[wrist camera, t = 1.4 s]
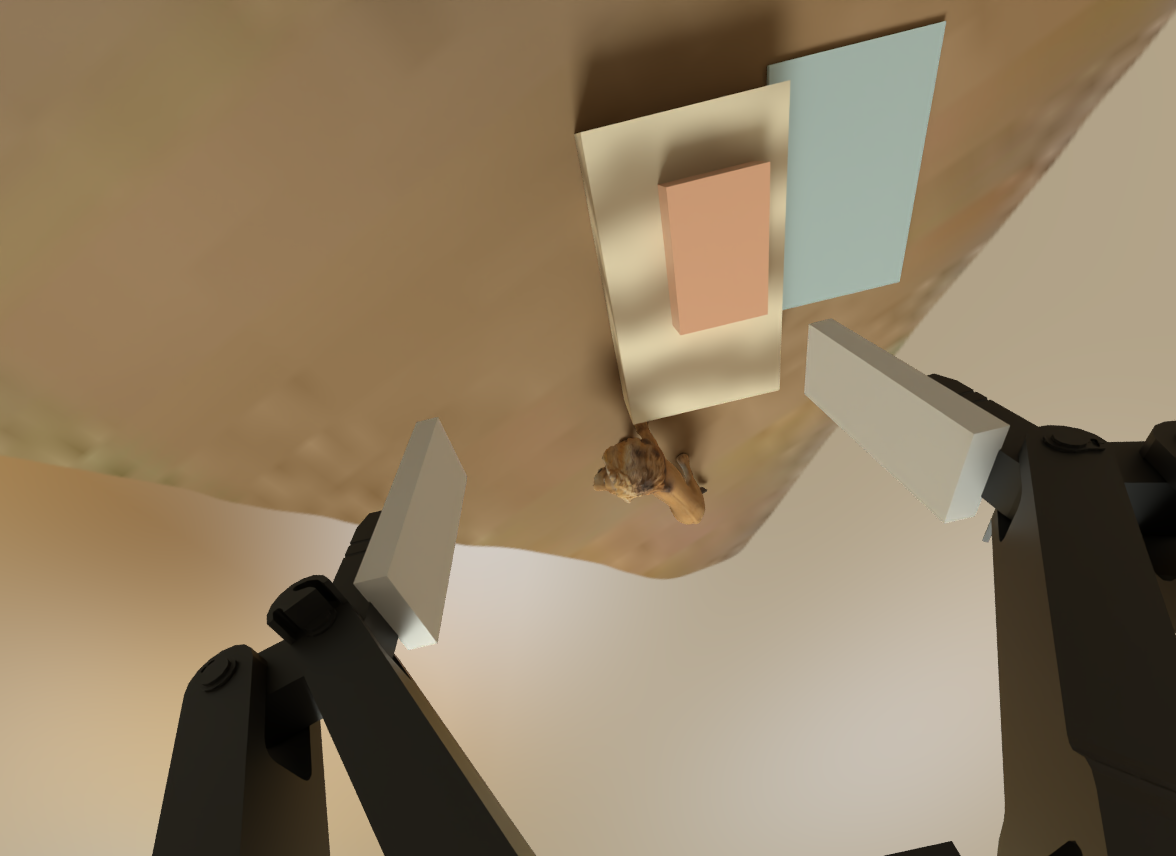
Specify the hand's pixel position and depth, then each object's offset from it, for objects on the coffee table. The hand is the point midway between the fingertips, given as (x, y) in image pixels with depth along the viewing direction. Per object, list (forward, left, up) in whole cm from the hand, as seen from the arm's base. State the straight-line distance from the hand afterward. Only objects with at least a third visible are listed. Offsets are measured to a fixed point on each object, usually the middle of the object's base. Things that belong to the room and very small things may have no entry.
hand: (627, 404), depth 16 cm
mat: (-1, +20, -20) cm, 28 cm away
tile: (0, +9, -16) cm, 19 cm away
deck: (+2, +8, -20) cm, 22 cm away
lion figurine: (+18, +3, -21) cm, 28 cm away
